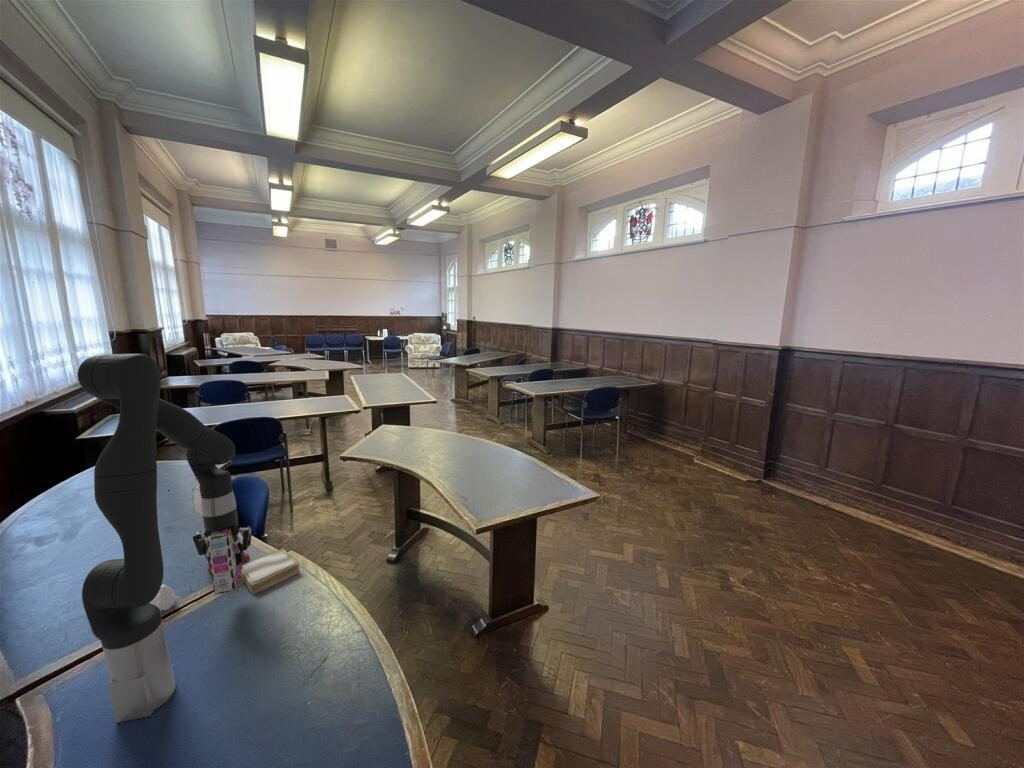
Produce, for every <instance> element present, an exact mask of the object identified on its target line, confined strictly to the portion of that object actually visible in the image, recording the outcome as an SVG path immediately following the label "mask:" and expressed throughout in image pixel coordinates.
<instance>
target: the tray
mask: <svg viewBox="0 0 1024 768" xmlns="http://www.w3.org/2000/svg"><path fill="white" fill-rule="evenodd" d="M280 552H282V553H280ZM283 553H288V552H287V551H286V549H284V548H280V549H278V550H275V551H274V552H271V553H267V554H266V555H264V556H261V557H258V558H256V559H254V560H251V561H249V562H247V563H244V564H242V570H241V573H240V576H239V577H240V578H241V579H242V581H243V582H244V584H245V586H247V588H248V590H249V591H250V593H252V595H255V594H257V593H259V592H261V591H264V590H266V589H267V588H270V587H271V586H274V585H276V584H278V583H281V582H282V581H284V580H286V579H289V578H291V577H293V576H295V575H298V574H299V573H300V566H299V563H298V562H297V561H296V560H295V559H294V558H293V557H292V556H291V555H290V554H289V553H288V554H283Z"/></svg>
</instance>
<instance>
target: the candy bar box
mask: <svg viewBox="0 0 1024 768" xmlns="http://www.w3.org/2000/svg"><path fill="white" fill-rule="evenodd" d="M233 542H235V539H234V540H233V537H232V531H231V529H223V530H219V531H211V533H210V534H209V536H208V538H207V543H208V551H209V558H210V565H211V573H212V574H211V578H212V585H213V594H214V596H215V595H216V596H217V595H220V594H224V593H229V592H234V591H235V590H236V588H237V585H238V581H239V578H240V577H241V576H240V573H241V570H242V565H243V563H241V564H240V565H236V558H235V553H236V552H235V551H234V547H233Z"/></svg>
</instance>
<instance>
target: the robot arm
mask: <svg viewBox="0 0 1024 768" xmlns="http://www.w3.org/2000/svg"><path fill="white" fill-rule="evenodd" d="M77 381H78V383H79V385H80V386H81V388H82V389H83V390H84V391H85V392H86V393H87V394H89V395H91V396H92V397H94V398H96V399H98V400H100V401H102V402H104V403H106V404H109V405H111V406H113V407H115V408H117V409H119V419H118V424H117V427H116V429H115V431H114V433H113V435H112V436H111V438H110V440H109V441H108V443H106V445H105V447H104V448H103V450H102V451H101V453H100V455H99V456H98V459H97V461H96V463H95V466H94V469H93V470H94V471H93V477H94V478H93V479H94V480H93V481H94V482H93V484H94V485H93V486H94V487H93V488H94V489H93V490H94V501H95V503H96V506H97V508H98V509H99V511H100V512H101V513H102V515H103V516H104V518H105V519H106V520H107V521H108V523H109V524H110V525H111V526H112V528H113V529H114V530H115V532H116V534H117V535H118V537H119V539H120V542H121V545H122V550H123V551H122V552H123V558H113V559H109V560H108V559H107V560H104V561H102V562H100V563H99V564H97V565H95V566H94V567H93V568H92V569H91V570H90V571H89V572H88V574H87V576H85V579H84V581H83V584H82V589H81V601H82V605H83V609H84V613H85V614H86V617H87V621H88V623H89V627H90V630H91V631H92V634H93V636H94V637H96V638H97V639H98V640H99V641H100V643H101V646H102V650H103V654H104V659H105V663H106V667H107V671H108V674H109V675H108V676H109V679H110V681H109V682H108V683H107V690H108V694H109V697H110V701H111V706H112V710H113V715H114V718H115V721H116V723H122V722H127V721H129V722H130V721H134V720H138V718H140V719H144V718H143V717H145V718H148V717H147V716H150V715H151V714H152V713H153V714H154V712H155V711H156V710H155V709H157V708H158V707H159V706H161V705H162V704H163V703H164V704H165V703H167V701H168V700H170V698H171V697H172V695H173V694H174V692H175V690H176V687H177V686H176V681H175V675H174V670H173V667H172V661H171V657H170V652H169V647H168V643H167V642H168V641H167V638H166V633H165V628H164V626H165V625H164V622H163V618H162V612H161V610H159V608H158V607H157V606H156V604H155V605H153V604H151V603H150V602H151V601H152V600H153V599H156V595H157V594H158V592H159V590H160V588H161V585H162V584H163V579H164V560H163V553H162V545H161V541H160V532H159V524H158V523H159V522H158V502H157V501H158V498H157V495H158V494H157V493H158V466H157V465H158V464H157V462H158V461H157V431H158V432H159V433H160V434H162V435H163V436H164V437H166V438H167V439H168V440H170V441H171V442H173V443H174V444H175V445H177V446H178V447H179V448H182V449H184V450H186V453H185V454H186V455H185V457H186V460H187V464H188V466H189V467H190V469H191V471H192V472H193V475H194V476H195V478H196V480H197V482H198V484H199V485H198V487H199V491H200V492H199V493H200V507H201V514H202V519H203V520H202V521H203V528H204V531H197V532H196V533H195V534H194V535H193V536H192V541H193V543H194V546H195V548H196V552H197V553H198V555H199V556H203V555H204V556H205V555H206V556H208V561H207V563H208V562H209V563H208V565H209V566H211V565H210V558H209V551H208V546H207V543H206V541H205V539H206V538H208V536H209V534H210V533H211V531H219V530H223V529H231V531H232V537H233V540H234V539H235V542H233V547H234V551H235V552H236V553H235V558H236V565H240V564H241V563H242V562H243V560H244V553H245V551H247V550H248V548H250V546H251V543H252V531H253V527H252V526H249V525H248V526H247V527H241V526H240V524H239V517H238V509H237V501H236V495H235V493H234V489H233V481H232V475H231V473H230V471H229V470H226V469H222V468H220V467H217V466H218V465H220V466H221V465H226V464H227V463H229V462H231V461H232V460H233V458H234V456H235V455H236V447H235V443H234V442H233V441H232V440H231V439H230V438H229V437H228V436H226V435H225V434H222V433H220V432H219V431H217V430H214V429H212V428H210V427H208V426H206V425H205V424H204V423H203V422H202V421H201V420H199V418H197V417H196V416H195V415H194V414H192V412H190V411H188V410H186V409H185V408H183V407H181V406H179V405H176V404H174V403H171V402H169V401H167V400H164V399H162V398H160V396H161V395H160V394H161V385H162V384H161V383H162V382H161V381H162V378H161V372H160V367H159V365H158V363H157V362H156V360H155V359H153V358H152V357H151V356H150V355H147V354H145V353H144V354H143V353H111V354H110V353H109V354H108V353H107V354H106V353H105V354H98V355H93V356H91V357H88V358H86V359H84V360H83V361H82V362H81V363H80V365H79V367H78V369H77ZM216 465H217V466H216ZM239 534H240V536H241V537H242V541H241V537H240V536H239ZM243 563H244V562H243ZM243 563H242V564H243ZM164 704H163V705H164ZM163 705H162V706H163ZM162 706H161V707H162ZM159 708H160V707H159ZM159 708H158V709H159ZM158 709H157V710H158ZM154 710H155V711H154ZM153 711H154V712H153ZM153 714H152V715H153ZM152 715H151V716H152ZM151 716H150V717H151ZM133 719H134V720H133Z"/></svg>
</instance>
